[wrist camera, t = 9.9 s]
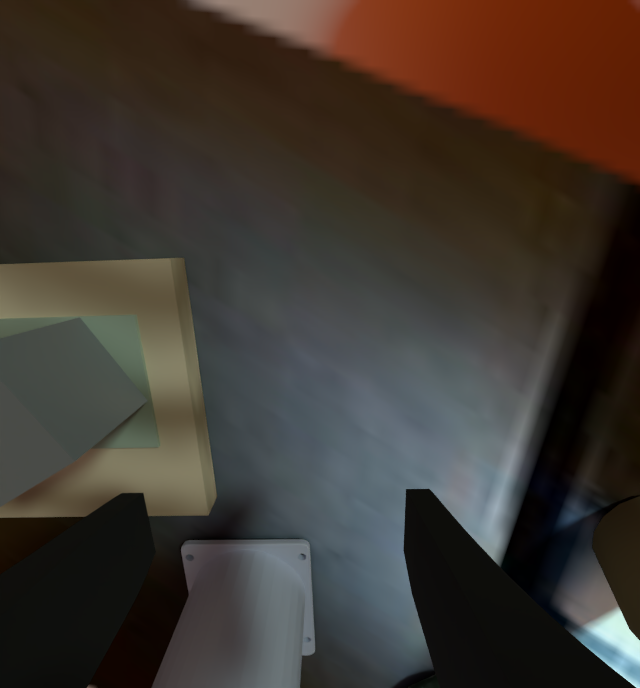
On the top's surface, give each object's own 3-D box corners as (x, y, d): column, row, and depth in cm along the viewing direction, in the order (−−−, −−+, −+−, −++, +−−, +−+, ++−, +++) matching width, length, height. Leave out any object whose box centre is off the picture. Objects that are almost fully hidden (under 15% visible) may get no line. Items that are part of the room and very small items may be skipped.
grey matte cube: (147, 401, 17) (75, 461, 12) (74, 446, 18) (-21, 519, 13) (79, 317, 16) (-31, 346, 11) (5, 369, 16) (-128, 418, 12)
